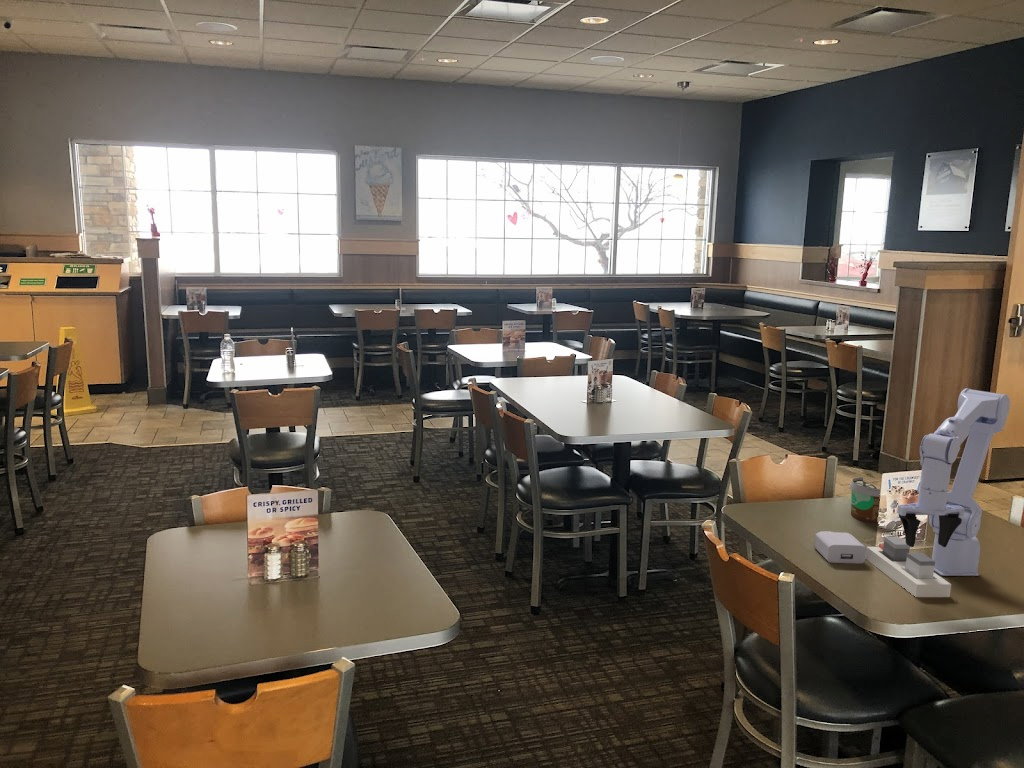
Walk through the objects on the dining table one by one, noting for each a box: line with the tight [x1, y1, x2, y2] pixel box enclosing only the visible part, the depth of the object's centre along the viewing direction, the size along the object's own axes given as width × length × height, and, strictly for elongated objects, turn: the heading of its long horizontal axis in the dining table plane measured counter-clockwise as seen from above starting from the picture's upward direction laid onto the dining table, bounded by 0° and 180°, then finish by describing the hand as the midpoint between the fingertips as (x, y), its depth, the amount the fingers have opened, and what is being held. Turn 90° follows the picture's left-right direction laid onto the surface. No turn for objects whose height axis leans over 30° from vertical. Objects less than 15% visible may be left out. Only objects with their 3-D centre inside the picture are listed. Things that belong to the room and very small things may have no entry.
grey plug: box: [905, 552, 935, 579], centre depth 188 cm, size 4×5×7 cm
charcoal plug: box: [882, 536, 911, 562], centre depth 198 cm, size 4×5×7 cm
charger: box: [813, 530, 867, 564], centre depth 208 cm, size 5×9×15 cm
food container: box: [849, 476, 881, 524], centre depth 234 cm, size 12×6×10 cm, turn 6°
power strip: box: [865, 543, 952, 598], centre depth 194 cm, size 8×22×4 cm, turn 5°
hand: (925, 545), depth 187 cm, fingers open, 7 cm apart
